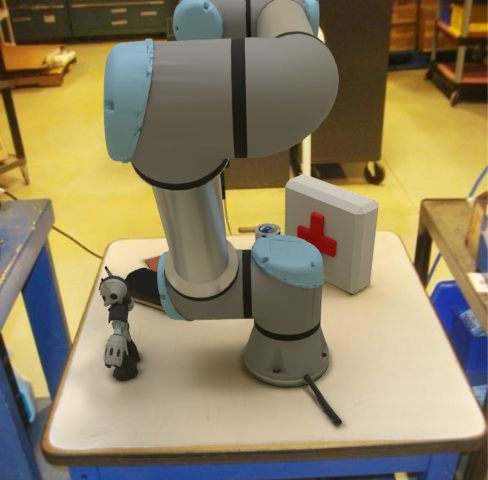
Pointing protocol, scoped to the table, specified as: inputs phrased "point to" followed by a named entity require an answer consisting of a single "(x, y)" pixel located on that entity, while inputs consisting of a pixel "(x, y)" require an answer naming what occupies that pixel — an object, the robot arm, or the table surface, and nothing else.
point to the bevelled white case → (334, 228)
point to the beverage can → (266, 230)
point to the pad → (153, 263)
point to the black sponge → (144, 287)
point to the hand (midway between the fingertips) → (213, 195)
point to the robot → (119, 328)
